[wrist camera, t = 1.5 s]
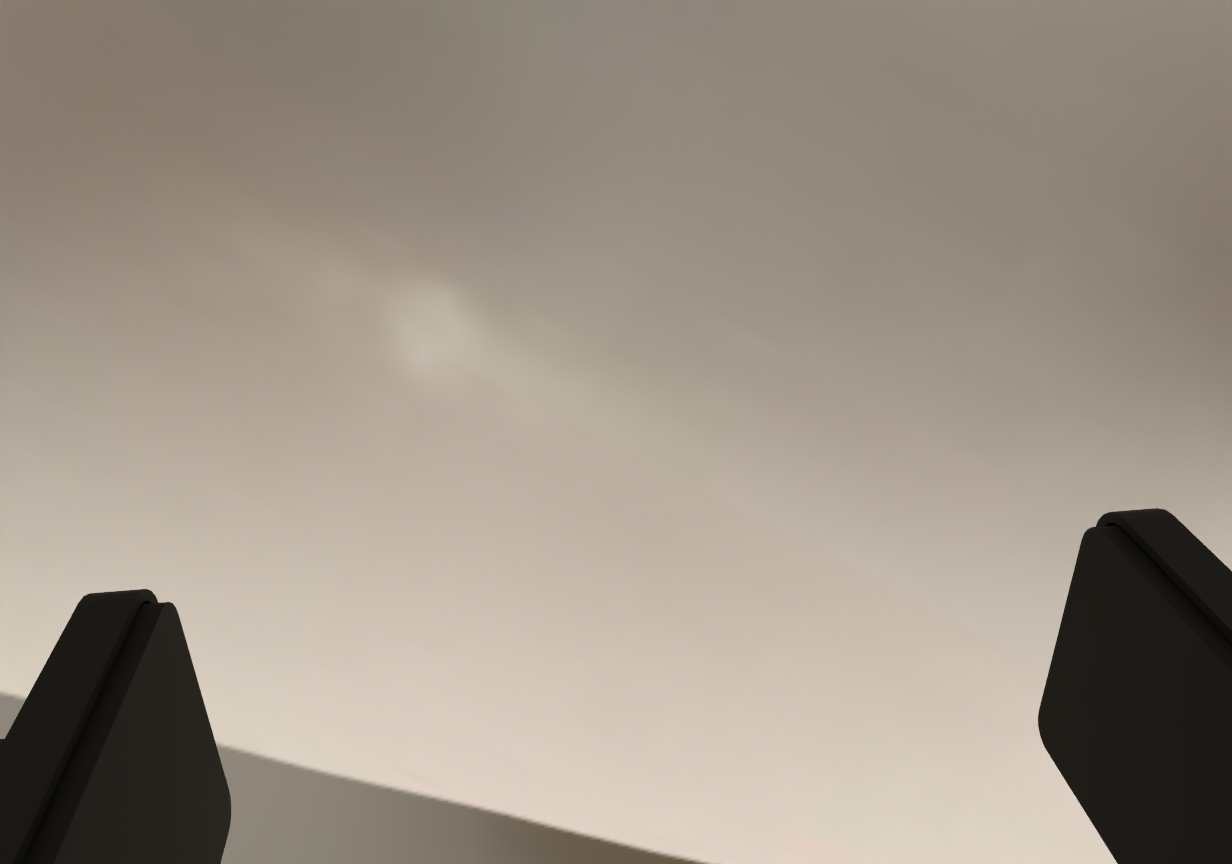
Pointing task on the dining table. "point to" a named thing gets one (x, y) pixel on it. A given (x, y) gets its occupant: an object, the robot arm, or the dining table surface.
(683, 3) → the dining table surface
